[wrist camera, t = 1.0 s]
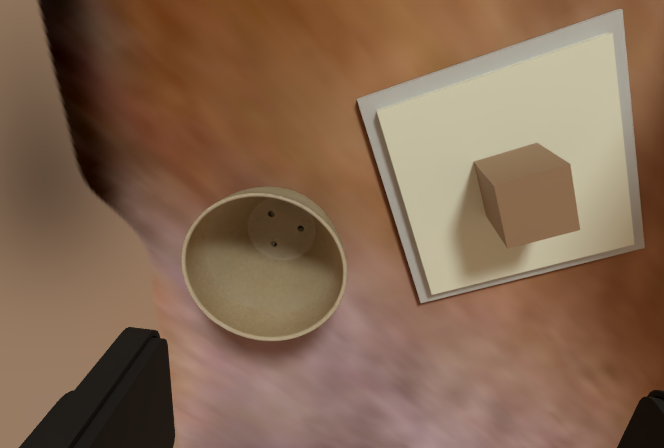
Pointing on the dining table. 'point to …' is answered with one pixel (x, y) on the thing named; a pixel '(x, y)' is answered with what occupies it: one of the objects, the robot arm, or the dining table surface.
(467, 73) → the mat
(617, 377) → the dining table surface
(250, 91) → the dining table surface
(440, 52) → the dining table surface
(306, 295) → the flower pot
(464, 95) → the lid
